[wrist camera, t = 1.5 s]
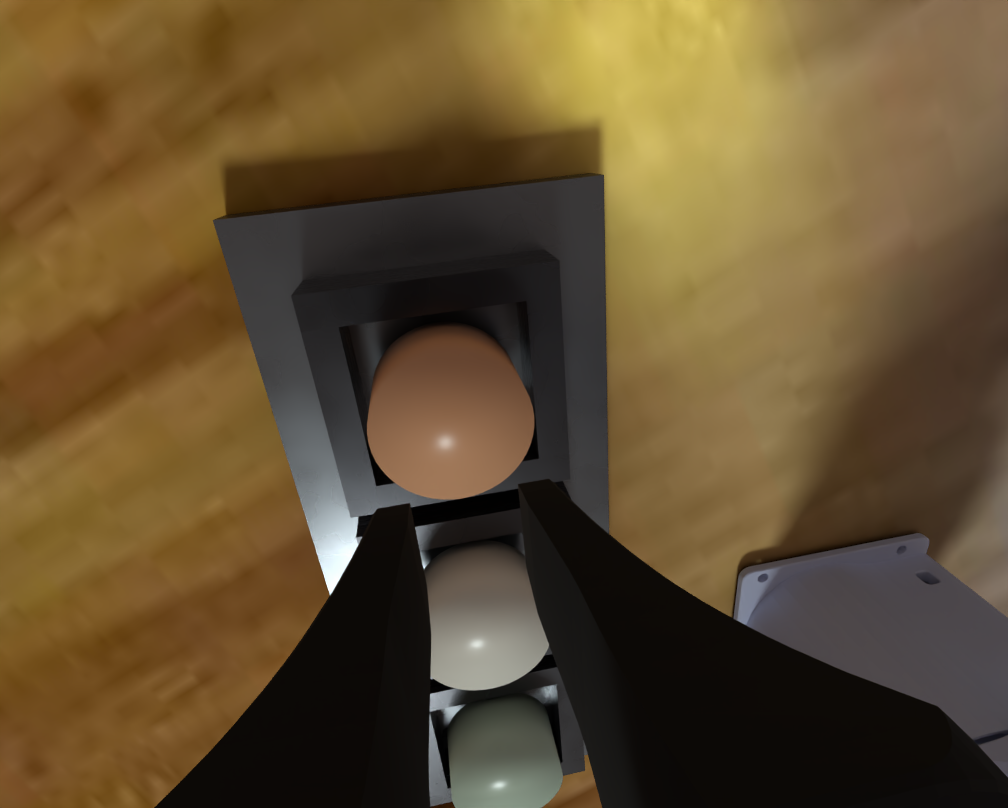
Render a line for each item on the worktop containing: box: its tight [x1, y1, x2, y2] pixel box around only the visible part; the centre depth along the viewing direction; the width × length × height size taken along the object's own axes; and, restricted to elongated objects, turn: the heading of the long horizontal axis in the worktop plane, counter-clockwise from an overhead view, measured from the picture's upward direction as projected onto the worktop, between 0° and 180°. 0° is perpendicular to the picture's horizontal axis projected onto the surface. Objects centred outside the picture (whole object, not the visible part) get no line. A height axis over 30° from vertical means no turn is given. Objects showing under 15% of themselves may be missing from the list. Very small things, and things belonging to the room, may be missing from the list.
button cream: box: [424, 540, 549, 690], centre depth 19 cm, size 4×4×2 cm
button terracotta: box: [367, 322, 534, 500], centre depth 16 cm, size 4×4×2 cm
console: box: [213, 173, 609, 807], centre depth 21 cm, size 11×27×3 cm, turn 5°
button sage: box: [447, 692, 563, 808], centre depth 23 cm, size 4×4×2 cm
